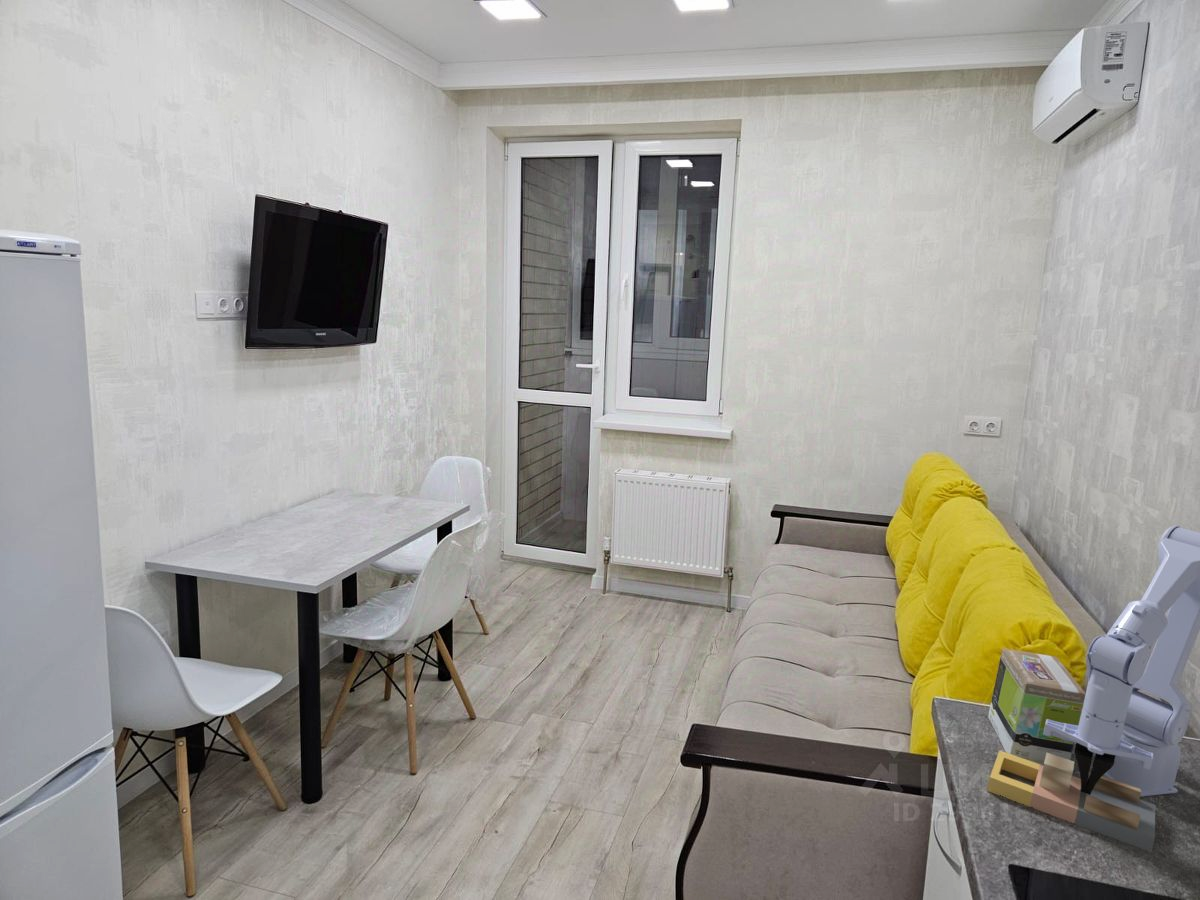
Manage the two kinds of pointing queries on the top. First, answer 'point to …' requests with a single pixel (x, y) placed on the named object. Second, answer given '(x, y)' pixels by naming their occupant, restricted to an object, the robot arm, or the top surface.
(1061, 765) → the birch block
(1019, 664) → the tea box
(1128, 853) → the top surface
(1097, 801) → the channel walls
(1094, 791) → the board
